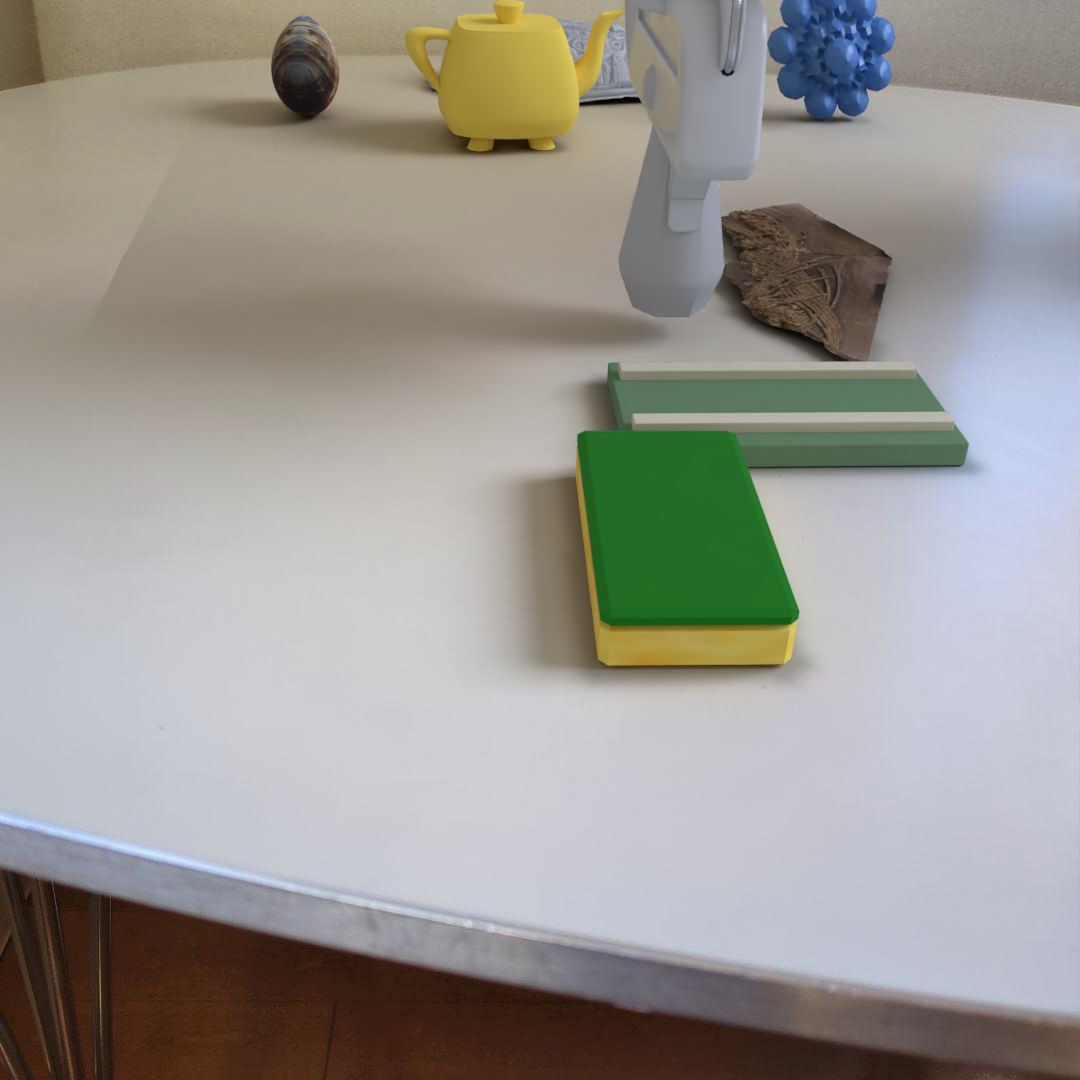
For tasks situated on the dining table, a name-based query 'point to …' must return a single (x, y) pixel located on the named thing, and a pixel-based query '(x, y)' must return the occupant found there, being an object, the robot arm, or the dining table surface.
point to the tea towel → (794, 410)
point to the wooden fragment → (808, 276)
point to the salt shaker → (668, 240)
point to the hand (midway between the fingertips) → (675, 214)
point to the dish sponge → (680, 552)
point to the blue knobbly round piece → (831, 54)
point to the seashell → (305, 67)
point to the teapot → (510, 74)
